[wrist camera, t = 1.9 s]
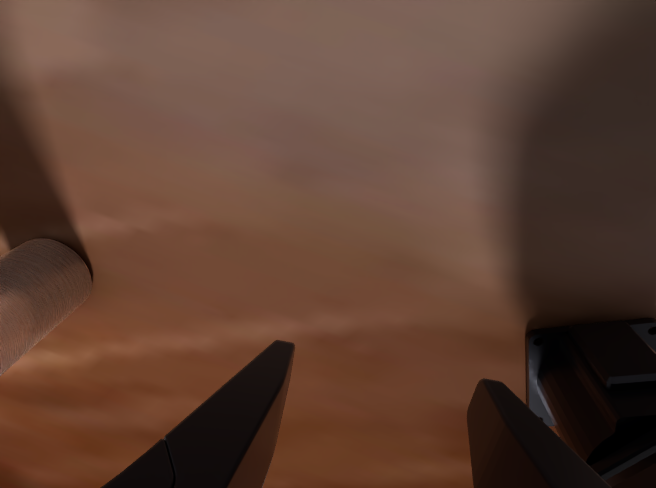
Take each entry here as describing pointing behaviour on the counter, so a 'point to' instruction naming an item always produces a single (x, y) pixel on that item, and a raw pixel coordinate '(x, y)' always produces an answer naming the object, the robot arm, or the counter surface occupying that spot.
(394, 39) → the counter surface
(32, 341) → the silver jar
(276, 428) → the robot arm
